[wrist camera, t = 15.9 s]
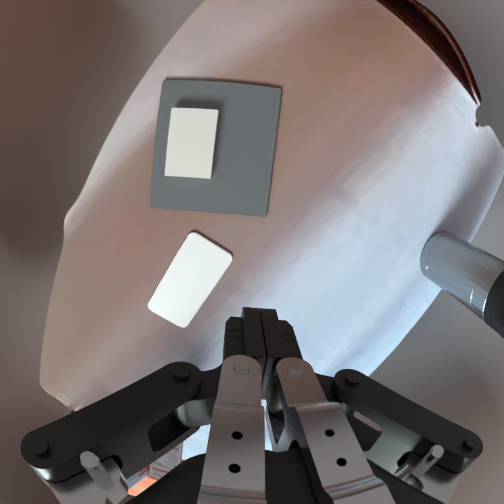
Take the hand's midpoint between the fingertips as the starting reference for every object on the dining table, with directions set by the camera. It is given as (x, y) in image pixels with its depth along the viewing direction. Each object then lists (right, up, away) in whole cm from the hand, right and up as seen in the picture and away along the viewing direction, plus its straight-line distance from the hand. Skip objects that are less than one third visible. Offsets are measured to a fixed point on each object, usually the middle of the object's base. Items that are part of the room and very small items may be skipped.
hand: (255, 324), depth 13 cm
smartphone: (-10, -1, +29) cm, 31 cm away
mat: (-5, +17, +22) cm, 29 cm away
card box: (-5, +17, +21) cm, 28 cm away
